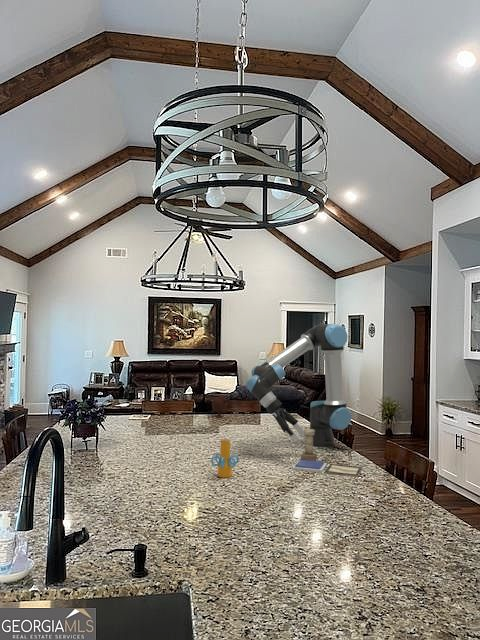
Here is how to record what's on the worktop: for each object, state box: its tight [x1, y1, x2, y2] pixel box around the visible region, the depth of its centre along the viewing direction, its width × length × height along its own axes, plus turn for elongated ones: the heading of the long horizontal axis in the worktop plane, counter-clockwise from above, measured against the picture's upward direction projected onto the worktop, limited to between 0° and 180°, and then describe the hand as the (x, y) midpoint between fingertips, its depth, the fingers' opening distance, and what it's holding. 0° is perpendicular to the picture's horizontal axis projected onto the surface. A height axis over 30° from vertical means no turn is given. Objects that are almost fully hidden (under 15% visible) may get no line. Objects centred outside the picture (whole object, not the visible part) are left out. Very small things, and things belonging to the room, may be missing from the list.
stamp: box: [300, 428, 318, 461], centre depth 253 cm, size 7×6×14 cm
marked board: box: [324, 463, 363, 478], centre depth 235 cm, size 14×14×1 cm
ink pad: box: [291, 459, 328, 473], centre depth 240 cm, size 13×13×2 cm
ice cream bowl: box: [211, 395, 228, 419], centre depth 368 cm, size 11×11×15 cm
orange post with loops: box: [210, 438, 240, 479], centre depth 224 cm, size 12×10×15 cm
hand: (301, 437), depth 253 cm, fingers open, 13 cm apart
